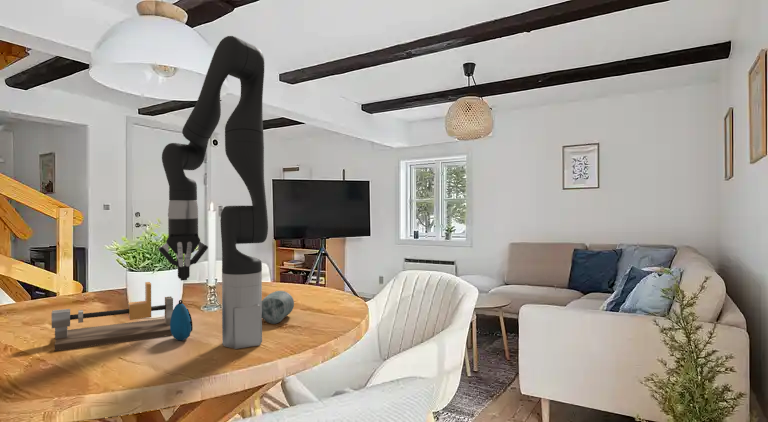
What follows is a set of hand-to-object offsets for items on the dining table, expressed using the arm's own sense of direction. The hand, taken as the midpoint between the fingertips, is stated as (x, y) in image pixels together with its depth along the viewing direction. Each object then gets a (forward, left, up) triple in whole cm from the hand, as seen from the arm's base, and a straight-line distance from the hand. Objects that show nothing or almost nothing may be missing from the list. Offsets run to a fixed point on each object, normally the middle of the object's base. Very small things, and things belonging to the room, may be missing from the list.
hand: (183, 279), depth 129 cm
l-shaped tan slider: (0, +11, -9) cm, 14 cm away
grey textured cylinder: (-6, -24, -13) cm, 28 cm away
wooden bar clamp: (0, +16, -13) cm, 20 cm away
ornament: (-13, +3, -13) cm, 19 cm away
